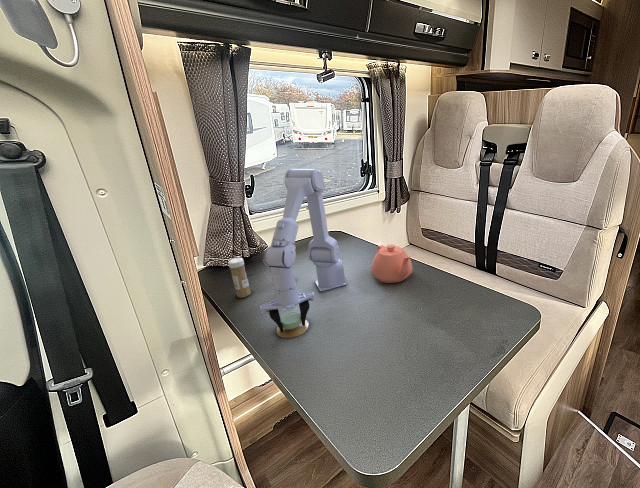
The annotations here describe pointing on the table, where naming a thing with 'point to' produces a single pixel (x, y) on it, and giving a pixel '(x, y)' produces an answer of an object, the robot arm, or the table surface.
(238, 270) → the sprinkles bottle
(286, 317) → the lid
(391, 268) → the teapot
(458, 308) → the table surface
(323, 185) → the robot arm
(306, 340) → the table surface
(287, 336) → the coaster
